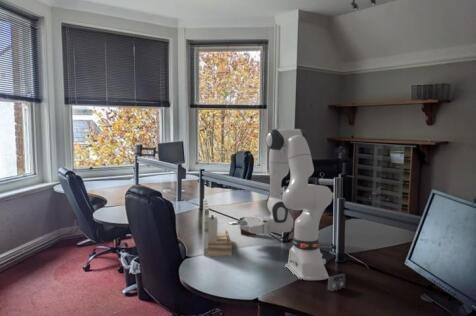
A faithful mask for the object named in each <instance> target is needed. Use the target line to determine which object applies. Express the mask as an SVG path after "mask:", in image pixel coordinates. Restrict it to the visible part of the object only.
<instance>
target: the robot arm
mask: <svg viewBox="0 0 476 316" xmlns="http://www.w3.org/2000/svg"><path fill="white" fill-rule="evenodd" d="M265 143H266V146H267V148H269V154H268V170H269V192H268V197H267V199H266V202H265V208H266V210H267V211H268V212H269V213H270V215H269V216H268V215H267V216H265V215H264V216H260V217H259V218H258V217H253V216H244V217H245V218H244V220H241V221H239V220H237V221H236V224H237V225H238V227H239V230H241V229H244V230H249V232H250V233H253V234H256V235H266V236H267V235H268V234H271V233H289V232H290V231H292V229H293V228H294V229H293V231H294V233H293V237H292V246H291V248H289V250H288V251H289V254H288V262H287V263H285V265H284V268H286V267H287V268H288V269H289V270H290V271H291V272H292V273H291V272H290V271H289V270H288V269H287V268H286V269H287V270H288V271H289V272H290V273H291V274H293V275H294V274H295V275H296V276H297V277H298V278H297V277H296V276H295V275H294V276H295V277H296V278H297V279H299V280H302V279H303V280H304V281H323V280H327V279H328V277H330V276H329V274H328V271H327V269H326V267H325V265H326V264H327V262H326V258H322V257H323V256H324V255H323V253H321V249H320V241H319V226H320V221H321V218H322V215H323V214H324V211H325V210H326V208H327V207H328V206H329V205H331V203H332V201H333V193H332V191H331V188H329V187H328V186H326V185H321V184H320V185H319V184H314V185H313V184H312V185H309V178H310V177H312V175H313V174H314V171H315V169H314V163H313V159H312V154H311V150H310V147H309V144H308V143H309V136H308V133H307V131H306V130H304V129H301V128H285V127H284V128H278V129H277V128H273V129H271V130H268V132H267V133H266V135H265ZM289 173H290V174H289ZM288 174H289V175H290V179H289V184H288V186H287V188H285V190H284V191H283V193H281V191H282V188H281V187H282V181H283V179H284V178H285V177H287V175H288ZM281 194H282V196H281ZM290 210H293V211H302V212H301V214H300V215H299V216H298V217H297V218H296V219H295V220H294V219H293V217H292V214H291V213H290ZM241 224H245V225H246V226H243V225H241ZM303 280H302V281H303Z"/></svg>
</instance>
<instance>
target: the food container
mask: <svg viewBox="0 0 476 316" xmlns="http://www.w3.org/2000/svg"><path fill="white" fill-rule="evenodd" d="M245 217H246V216H244V217H240V218H239V219H238V221H241V220H244V218H245ZM241 225H243V226H246V225H245V224H241ZM240 235H241V236H249V237H257V234H253V233H250V232H249V230H244V229H240Z"/></svg>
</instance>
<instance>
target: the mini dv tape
mask: <svg viewBox="0 0 476 316" xmlns="http://www.w3.org/2000/svg"><path fill="white" fill-rule="evenodd" d="M346 275H347V274H345V273H340V274H339V273H338V274H336V275H332V276H329V277H328V280H327V288H326V289H327V291H328V290H329V291H332V292H335V291H334V290H336V291H338V290H337V289H340V290H342V289H341V288H344V289H346V277H347V276H346ZM329 291H328V292H329Z"/></svg>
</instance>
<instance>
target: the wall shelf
mask: <svg viewBox="0 0 476 316" xmlns="http://www.w3.org/2000/svg"><path fill="white" fill-rule="evenodd" d="M202 201H203V202H202V247H203V248H202V249H203V256H204V257H205V256H207V257H211V256H212V257H213V256H215V257H216V256H219V257H220V256H232V254H233V253H232V252H233V249H232V248H233V244H232V243H233V242H232V240H231V237H230V234H229V231H228V229H225V233H217V242H208V229H209V217H210V208H209V203H208V200H207V198H203V200H202Z"/></svg>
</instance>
